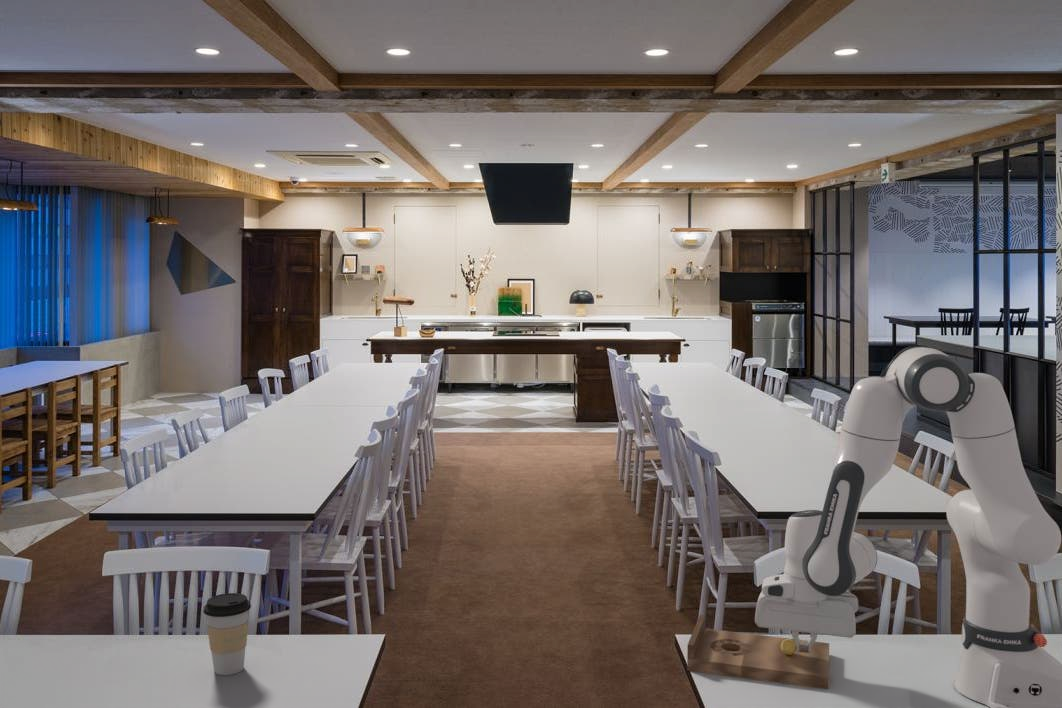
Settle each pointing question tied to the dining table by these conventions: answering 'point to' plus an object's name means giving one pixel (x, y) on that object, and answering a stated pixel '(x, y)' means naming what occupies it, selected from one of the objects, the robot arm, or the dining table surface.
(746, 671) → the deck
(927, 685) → the dining table surface
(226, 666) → the coffee cup
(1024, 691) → the robot arm
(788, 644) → the ball
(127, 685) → the dining table surface
